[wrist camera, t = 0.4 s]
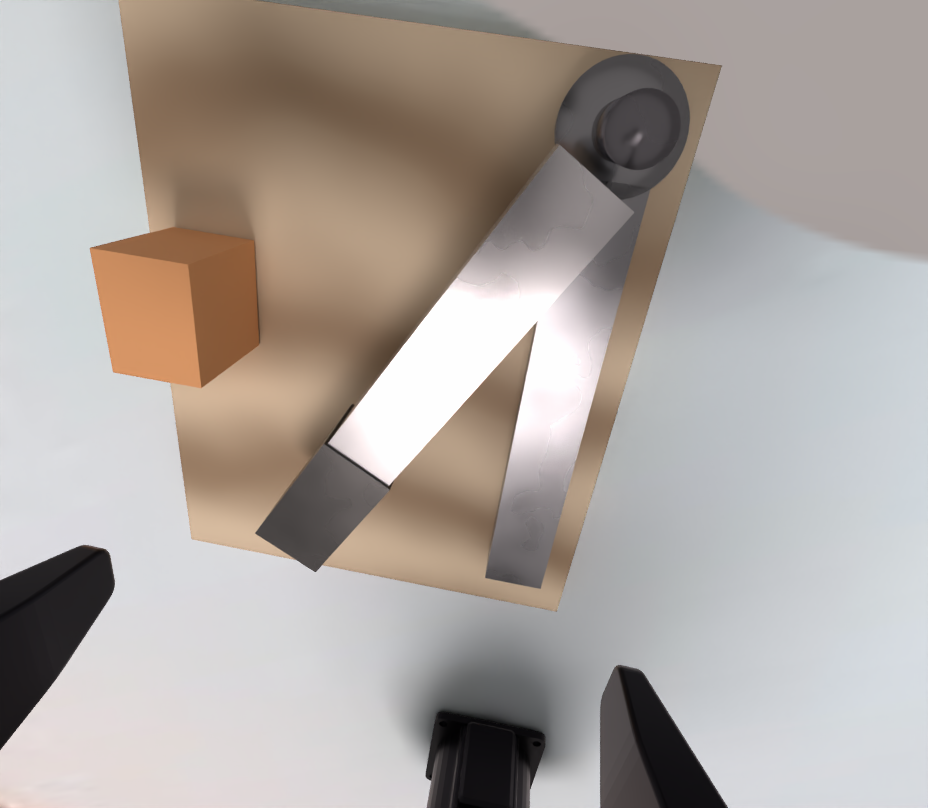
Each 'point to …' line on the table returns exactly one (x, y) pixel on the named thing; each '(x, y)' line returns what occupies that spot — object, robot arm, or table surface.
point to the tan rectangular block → (177, 304)
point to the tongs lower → (583, 300)
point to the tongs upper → (448, 354)
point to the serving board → (366, 253)
